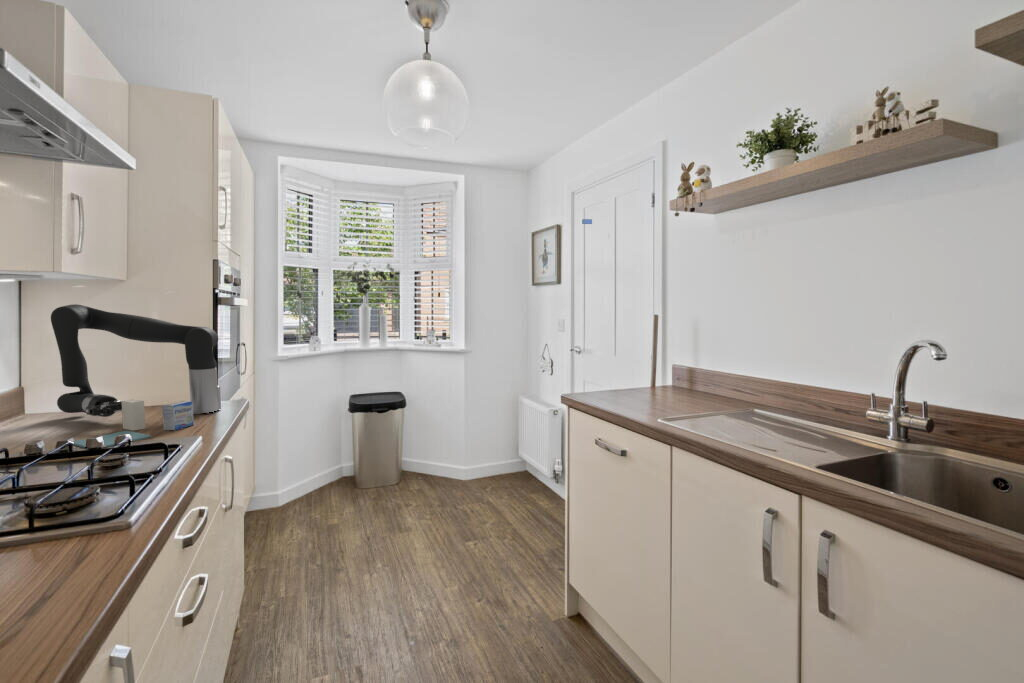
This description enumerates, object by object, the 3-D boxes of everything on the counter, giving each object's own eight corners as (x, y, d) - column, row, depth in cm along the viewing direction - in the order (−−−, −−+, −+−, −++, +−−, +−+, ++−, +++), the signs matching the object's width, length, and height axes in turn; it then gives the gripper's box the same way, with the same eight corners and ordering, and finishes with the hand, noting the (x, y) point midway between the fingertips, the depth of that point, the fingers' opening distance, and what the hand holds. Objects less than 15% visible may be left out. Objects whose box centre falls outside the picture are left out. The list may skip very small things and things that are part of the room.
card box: (134, 426, 168) (133, 399, 167) (145, 428, 165) (143, 400, 164) (123, 428, 165) (121, 400, 164) (133, 430, 162) (132, 402, 161)
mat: (126, 432, 160) (126, 430, 160) (151, 437, 154) (151, 435, 154) (69, 444, 146) (69, 442, 146) (94, 450, 140) (94, 448, 140)
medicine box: (174, 431, 161) (172, 405, 161) (163, 430, 162) (161, 405, 162) (194, 425, 169) (192, 400, 168) (183, 424, 170) (182, 400, 169)
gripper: (74, 398, 167) (99, 402, 160) (122, 391, 180) (147, 395, 173) (76, 419, 168) (101, 424, 161) (123, 411, 180) (148, 415, 173)
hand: (125, 409), depth 167 cm, fingers open, 8 cm apart
